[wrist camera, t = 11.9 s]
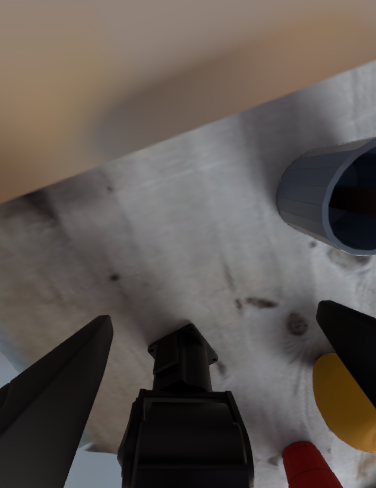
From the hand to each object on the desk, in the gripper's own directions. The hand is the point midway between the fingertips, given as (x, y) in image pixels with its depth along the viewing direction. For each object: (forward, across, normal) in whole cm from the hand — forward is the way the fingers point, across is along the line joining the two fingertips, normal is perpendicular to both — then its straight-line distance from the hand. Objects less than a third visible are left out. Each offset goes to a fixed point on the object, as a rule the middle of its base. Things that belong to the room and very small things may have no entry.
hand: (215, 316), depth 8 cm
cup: (+12, -12, -4) cm, 17 cm away
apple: (+12, -17, +18) cm, 28 cm away
